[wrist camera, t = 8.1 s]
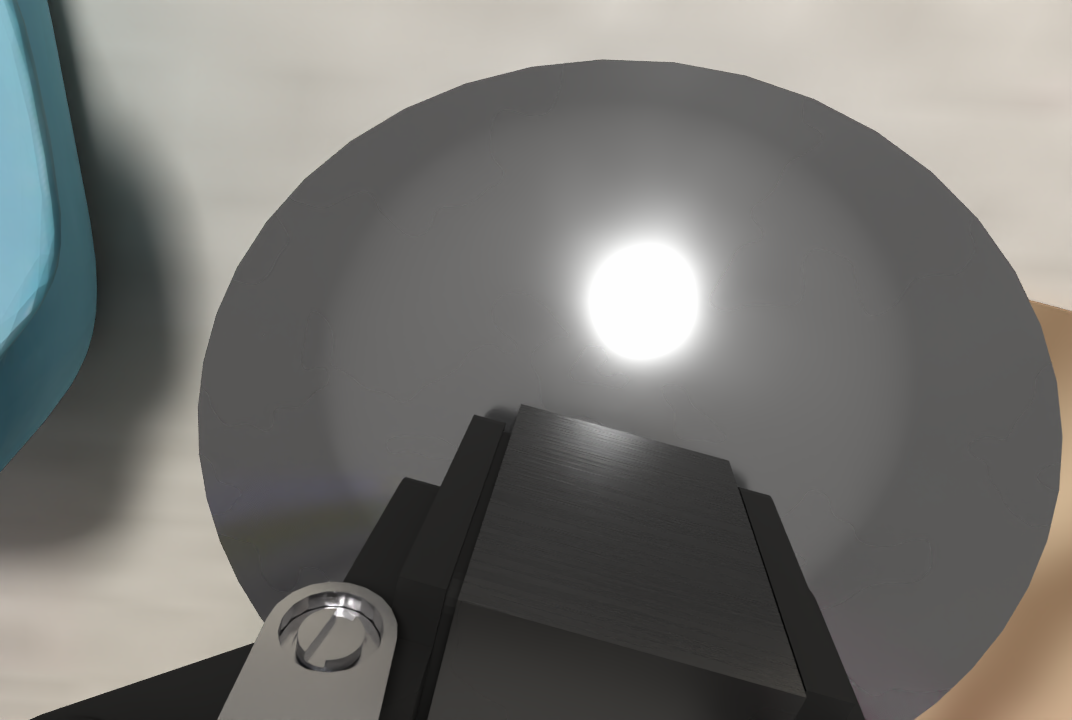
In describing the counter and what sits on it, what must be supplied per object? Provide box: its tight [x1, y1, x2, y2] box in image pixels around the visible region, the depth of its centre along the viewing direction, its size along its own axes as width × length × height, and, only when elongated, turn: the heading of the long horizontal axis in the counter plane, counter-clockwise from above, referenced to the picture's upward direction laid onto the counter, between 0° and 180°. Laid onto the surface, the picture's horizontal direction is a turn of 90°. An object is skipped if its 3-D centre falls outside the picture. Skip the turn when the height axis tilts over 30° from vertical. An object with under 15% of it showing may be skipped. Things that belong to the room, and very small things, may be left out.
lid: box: [198, 60, 1063, 720], centre depth 9 cm, size 14×14×5 cm
